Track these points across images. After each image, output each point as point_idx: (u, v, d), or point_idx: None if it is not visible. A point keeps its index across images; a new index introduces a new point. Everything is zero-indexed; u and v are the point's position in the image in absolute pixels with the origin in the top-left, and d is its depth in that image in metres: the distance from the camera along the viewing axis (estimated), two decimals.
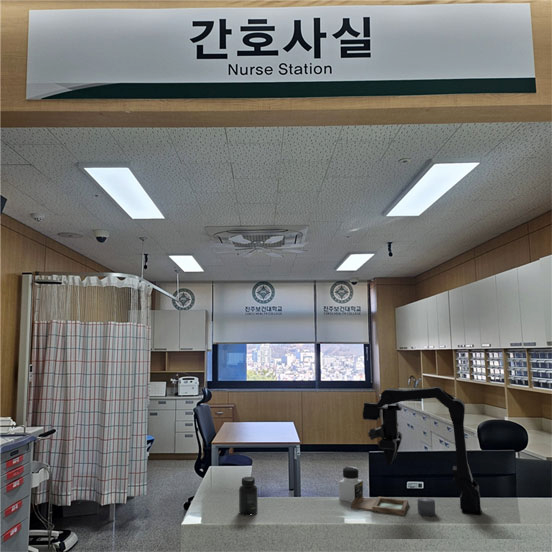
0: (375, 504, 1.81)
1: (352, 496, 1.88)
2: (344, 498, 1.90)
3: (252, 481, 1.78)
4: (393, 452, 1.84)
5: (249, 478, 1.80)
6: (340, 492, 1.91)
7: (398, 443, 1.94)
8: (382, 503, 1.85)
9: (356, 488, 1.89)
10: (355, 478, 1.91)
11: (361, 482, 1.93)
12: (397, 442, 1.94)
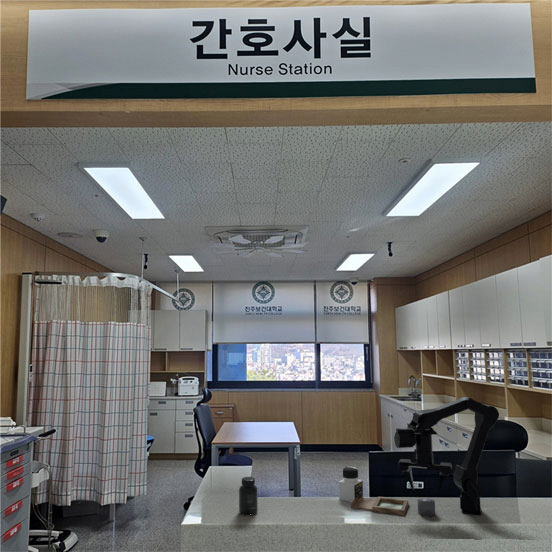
0: (375, 504, 1.81)
1: (352, 496, 1.88)
2: (344, 498, 1.90)
3: (252, 481, 1.78)
4: None
5: (249, 478, 1.80)
6: (340, 492, 1.91)
7: (439, 476, 1.73)
8: (382, 503, 1.85)
9: (356, 488, 1.89)
10: (355, 478, 1.91)
11: (361, 482, 1.93)
12: None
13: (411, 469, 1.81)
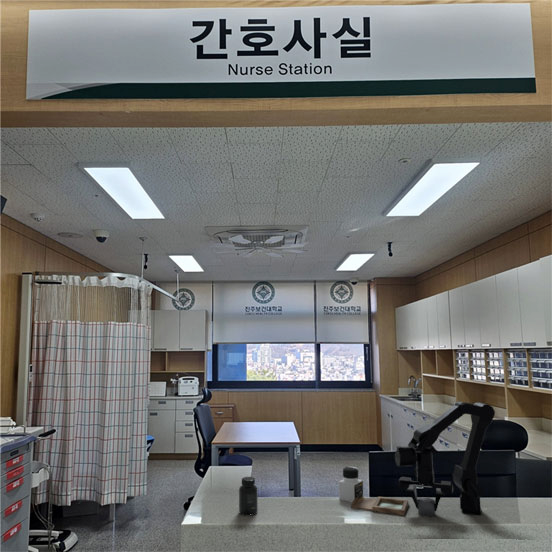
0: (375, 504, 1.81)
1: (352, 496, 1.88)
2: (344, 498, 1.90)
3: (252, 481, 1.78)
4: None
5: (249, 478, 1.80)
6: (340, 492, 1.91)
7: None
8: (382, 503, 1.85)
9: (356, 488, 1.89)
10: (355, 478, 1.91)
11: (361, 482, 1.93)
12: None
13: (415, 488, 1.80)
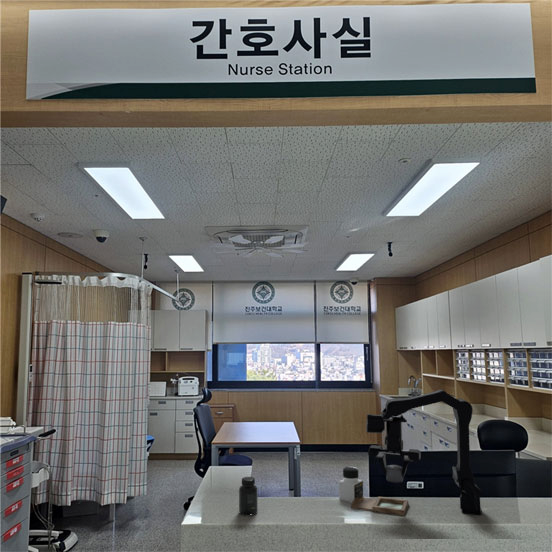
0: (375, 504, 1.81)
1: (351, 496, 1.88)
2: (344, 498, 1.90)
3: (252, 481, 1.78)
4: None
5: (249, 478, 1.80)
6: (340, 492, 1.91)
7: (403, 461, 1.79)
8: (382, 503, 1.85)
9: (356, 488, 1.89)
10: (355, 478, 1.91)
11: (361, 482, 1.93)
12: None
13: (385, 455, 1.86)
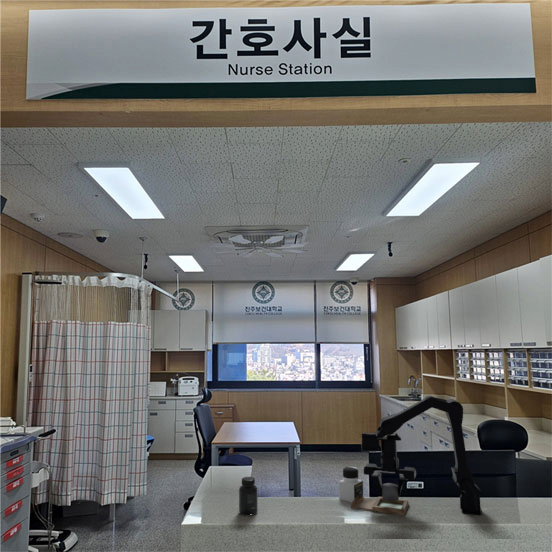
0: (375, 504, 1.81)
1: (351, 496, 1.88)
2: (344, 498, 1.90)
3: (252, 481, 1.78)
4: None
5: (249, 478, 1.80)
6: (340, 492, 1.92)
7: None
8: (382, 503, 1.85)
9: (356, 488, 1.89)
10: (355, 478, 1.91)
11: (361, 482, 1.93)
12: (399, 479, 1.80)
13: (380, 474, 1.86)
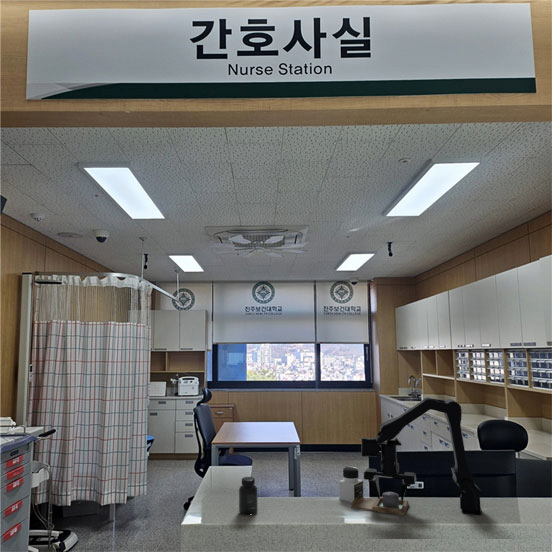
0: (375, 504, 1.81)
1: (351, 496, 1.88)
2: (344, 498, 1.90)
3: (252, 481, 1.78)
4: None
5: (249, 478, 1.80)
6: (340, 492, 1.92)
7: None
8: (382, 503, 1.85)
9: (356, 488, 1.89)
10: (355, 478, 1.91)
11: (361, 482, 1.93)
12: (402, 484, 1.79)
13: (378, 478, 1.86)
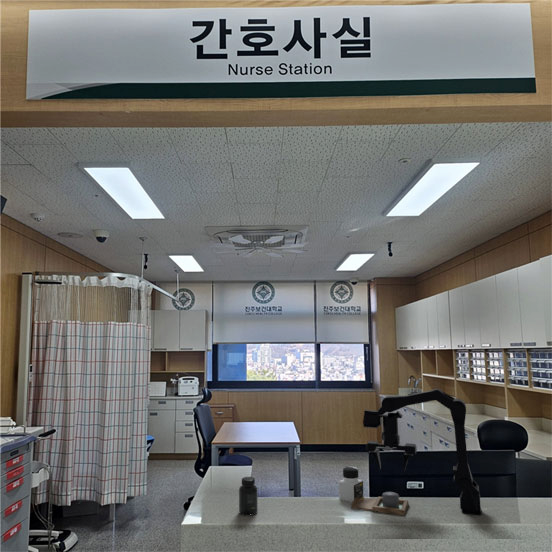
0: (375, 504, 1.81)
1: (351, 496, 1.88)
2: (344, 498, 1.90)
3: (252, 481, 1.78)
4: None
5: (249, 478, 1.80)
6: (340, 492, 1.92)
7: (404, 456, 1.85)
8: (382, 503, 1.85)
9: (355, 488, 1.89)
10: (355, 478, 1.91)
11: (361, 482, 1.93)
12: (404, 454, 1.86)
13: None
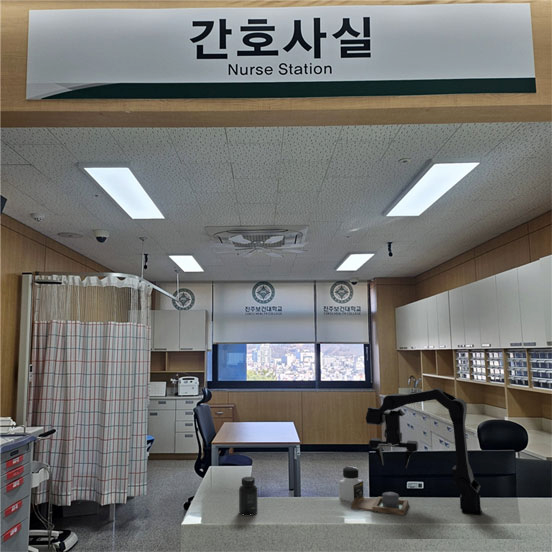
0: (375, 504, 1.81)
1: (351, 496, 1.88)
2: (344, 498, 1.91)
3: (252, 481, 1.78)
4: None
5: (249, 478, 1.80)
6: (340, 492, 1.92)
7: None
8: (382, 503, 1.85)
9: (355, 488, 1.89)
10: (355, 478, 1.91)
11: (361, 482, 1.93)
12: (406, 451, 1.90)
13: (381, 447, 1.97)
